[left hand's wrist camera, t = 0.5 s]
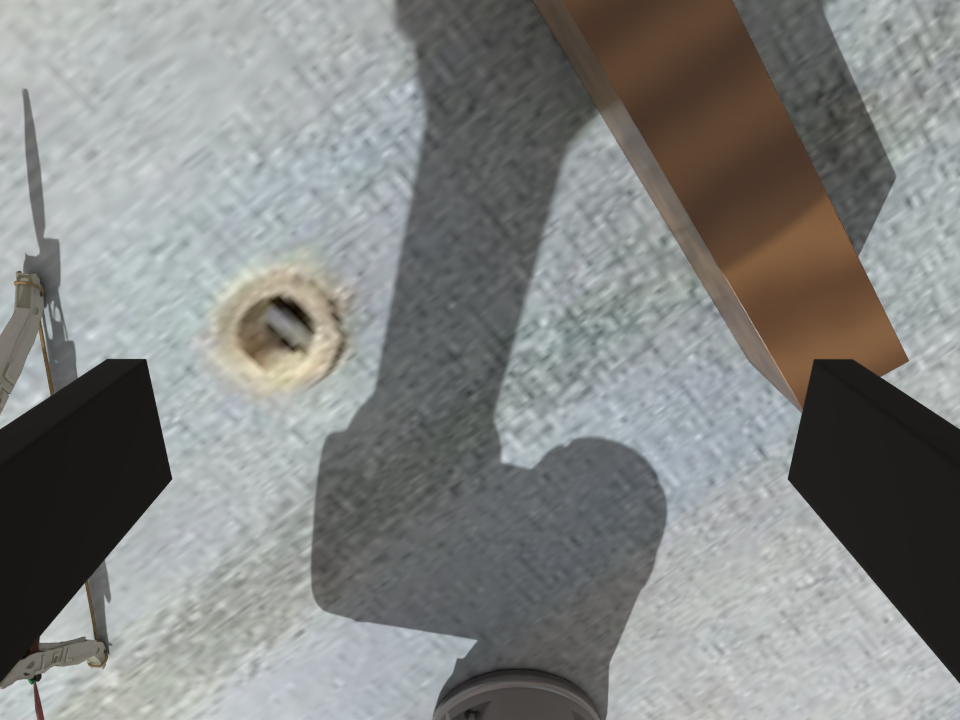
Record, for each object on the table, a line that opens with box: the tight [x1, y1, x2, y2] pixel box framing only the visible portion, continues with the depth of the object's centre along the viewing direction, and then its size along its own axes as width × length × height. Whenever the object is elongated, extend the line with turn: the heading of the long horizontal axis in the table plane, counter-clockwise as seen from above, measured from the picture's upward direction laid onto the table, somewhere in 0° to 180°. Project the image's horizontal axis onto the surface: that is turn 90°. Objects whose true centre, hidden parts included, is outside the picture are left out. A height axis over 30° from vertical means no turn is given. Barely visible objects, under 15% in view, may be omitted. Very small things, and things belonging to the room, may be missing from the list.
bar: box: [532, 0, 909, 413], centre depth 32 cm, size 35×6×8 cm, turn 36°
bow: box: [0, 271, 108, 720], centre depth 41 cm, size 39×2×10 cm, turn 174°
